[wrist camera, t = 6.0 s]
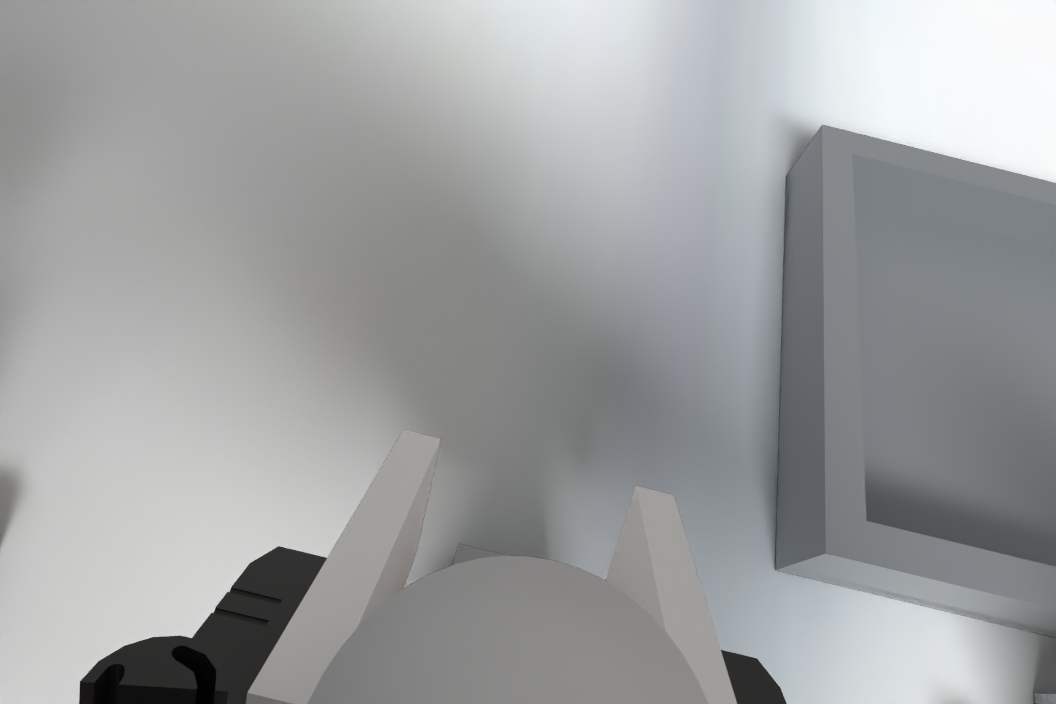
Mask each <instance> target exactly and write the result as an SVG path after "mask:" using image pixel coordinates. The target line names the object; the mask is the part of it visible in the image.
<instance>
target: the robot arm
mask: <svg viewBox="0 0 1056 704" xmlns="http://www.w3.org/2000/svg"><path fill="white" fill-rule="evenodd" d="M440 441H441V438H436V437H432V436H428V435H424V434H420V433H416V432H412V431H408V430H403V432H402V433H401V435H400V437H399V438H398V440H397V442H396V443H395V445H394V447H393V448H392V450H391V452H390V453H389V455H388V457H387V458H386V460H385V462H384V464H383V465H382V467H381V469H380V470H379V472H378V474H377V475H376V477H375V479H374V480H373V482H372V484H371V485H370V487H369V489H368V490H367V492H366V494H365V496H364V497H363V499H362V501H361V502H360V504H359V506H358V507H357V509H356V511H355V512H354V514H353V516H352V517H351V519H350V521H349V522H348V524H347V526H346V528H345V529H344V531H343V533H342V534H341V536H340V538H339V539H338V541H337V543H336V544H335V546H334V548H333V549H332V551H331V553H330V554H329V556H328V558H325V557H321V556H317V555H312V554H308V553H304V552H300V551H296V550H292V549H287V548H283V547H277V548H275V549H273V550H272V551H270V552H268V553H267V554H265V555H263V556H262V557H260V558H258V559H257V560H255V561H253V562H252V563H250V564H249V565H248V567H247V568H246V569H245V570H244V572H243V573H242V574H241V576H240V577H239V578H238V579H237V581H236V582H235V583H234V585H233V586H232V587H231V590H230V592H227V594H226V595H225V596H224V598H223V599H222V600H221V601H220V603H219V604H218V605H217V607H216V608H215V611H214V613H211V614H210V616H209V617H208V618H207V619H206V621H205V622H204V623H203V625H202V626H201V627H200V628H199V630H198V631H197V632H196V634H195V635H194V636H193V638H188V637H183V636H169V637H152V638H149V639H146V640H143V641H139V642H136V643H133V644H129V645H126V646H124V647H122V648H120V649H119V650H117V651H115V652H114V653H112V654H110V655H109V656H107V657H105V658H104V659H102V660H100V661H99V662H98V663H97V664H96V665H95V666H94V667H93V668H92V669H91V670H90V671H89V673H88V674H87V675H86V676H85V677H84V678H83V679H82V680H81V681H80V700H79V704H307V703H308V701H309V699H310V698H311V696H312V694H313V692H314V690H315V688H316V686H317V684H318V682H319V680H320V678H321V676H322V674H323V673H324V671H325V670H326V668H327V667H328V665H329V664H330V662H331V661H332V659H333V658H334V657H335V655H336V654H337V652H338V651H339V649H340V648H341V646H342V645H343V644H344V643H345V642H346V641H347V639H348V638H349V637H350V636H351V635H352V634H353V632H354V631H355V630H356V629H357V628H358V626H359V625H360V624H361V623H362V622H363V621H364V620H365V619H367V618H368V617H369V616H370V615H371V614H372V613H373V612H374V611H375V610H376V609H377V608H378V607H380V606H381V605H382V604H383V603H384V602H386V601H387V600H388V599H390V598H391V597H393V596H394V595H395V594H397V593H398V592H400V591H401V590H402V589H403V587H404V585H405V582H406V579H407V577H408V574H409V572H410V569H411V566H412V564H413V561H414V558H415V556H416V553H417V548H418V543H419V539H420V534H421V529H422V525H423V520H424V515H425V511H426V506H427V501H428V497H429V492H430V487H431V483H432V478H433V474H434V469H435V464H436V460H437V455H438V450H439V446H440ZM606 581H607V582H608V583H610V584H611V585H613V586H614V587H616V588H618V589H619V590H621V591H622V592H624V593H625V594H627V595H628V596H629V597H630V598H632V599H633V600H634V601H635V602H636V603H638V604H639V605H640V606H641V607H642V608H644V609H645V610H646V611H647V612H648V613H649V614H650V615H651V616H652V617H653V618H654V619H655V620H656V621H657V623H658V624H659V625H660V626H661V627H662V628H663V629H664V630H665V631H666V632H667V634H668V635H669V636H670V638H671V639H672V640H673V642H674V643H675V644H676V646H677V647H678V648H679V650H680V651H681V652H682V654H683V655H684V657H685V659H686V660H687V662H688V664H689V666H690V667H691V669H692V671H693V672H694V674H695V676H696V677H697V679H698V681H699V684H700V686H701V688H702V690H703V692H704V695H705V697H706V699H707V701H708V704H786V701H785V699H784V696H783V694H782V691H781V689H780V687H779V686H778V684H777V683H776V682H775V681H774V679H773V678H772V677H771V676H770V674H769V673H768V672H767V671H766V669H765V668H764V667H763V666H762V664H761V663H760V662H759V661H758V659H756V658H752V657H748V656H744V655H740V654H736V653H731V652H727V651H723V650H721V649H720V646H719V643H718V640H717V636H716V633H715V630H714V626H713V623H712V620H711V617H710V613H709V610H708V607H707V604H706V600H705V597H704V594H703V591H702V587H701V584H700V581H699V578H698V574H697V571H696V568H695V564H694V561H693V558H692V555H691V551H690V548H689V545H688V542H687V538H686V535H685V532H684V529H683V525H682V522H681V519H680V516H679V512H678V509H677V506H676V502H675V499H674V496H673V495H672V494H667V493H663V492H659V491H655V490H651V489H647V488H643V487H639V486H636V488H635V491H634V494H633V497H632V500H631V504H630V507H629V510H628V513H627V516H626V519H625V522H624V525H623V528H622V531H621V534H620V538H619V541H618V544H617V547H616V550H615V553H614V556H613V559H612V562H611V565H610V568H609V572H608V575H607V578H606Z"/></svg>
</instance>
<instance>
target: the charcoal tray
mask: <svg viewBox="0 0 1056 704" xmlns="http://www.w3.org/2000/svg"><path fill="white" fill-rule="evenodd" d="M776 571H781V572H785V573H789V574H793V575H797V576H801V577H805V578H810V579H814V580H818V581H822V582H826V583H830V584H834V585H839V586H843V587H847V588H851V589H855V590H859V591H863V592H868V593H872V594H876V595H880V596H884V597H888V598H892V599H897V600H901V601H905V602H909V603H913V604H917V605H921V606H926V607H930V608H934V609H938V610H942V611H946V612H950V613H955V614H959V615H963V616H967V617H971V618H975V619H980V620H984V621H988V622H992V623H996V624H1000V625H1004V626H1009V627H1013V628H1017V629H1021V630H1025V631H1029V632H1033V633H1038V634H1042V635H1046V636H1050V637H1054V638H1056V183H1053V182H1049V181H1045V180H1041V179H1037V178H1033V177H1029V176H1025V175H1021V174H1017V173H1013V172H1009V171H1005V170H1001V169H997V168H993V167H989V166H985V165H981V164H977V163H973V162H969V161H965V160H961V159H957V158H953V157H949V156H946V155H942V154H938V153H934V152H930V151H926V150H922V149H918V148H914V147H910V146H906V145H902V144H898V143H894V142H890V141H886V140H882V139H878V138H874V137H870V136H866V135H862V134H858V133H854V132H850V131H846V130H842V129H838V128H834V127H830V126H826V125H822V126H821V127H820V129H819V130H818V131H817V133H816V134H815V136H814V137H813V139H812V140H811V142H810V143H809V144H808V146H807V147H806V149H805V150H804V152H803V153H802V155H801V156H800V158H799V159H798V160H797V162H796V163H795V165H794V166H793V168H792V169H791V171H790V172H789V174H788V175H787V176H786V202H785V239H784V276H783V312H782V349H781V386H780V423H779V460H778V497H777V533H776Z"/></svg>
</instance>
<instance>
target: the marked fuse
mask: <svg viewBox="0 0 1056 704" xmlns="http://www.w3.org/2000/svg"><path fill="white" fill-rule="evenodd" d="M307 704H708V701H707V699H706V697H705V695H704V692H703V690H702V688H701V686H700V684H699V681H698V679H697V677H696V676H695V674H694V672H693V671H692V669H691V667H690V666H689V664H688V662H687V660H686V659H685V657H684V655H683V654H682V652H681V651H680V650H679V648H678V647H677V646H676V644H675V643H674V642H673V640H672V639H671V638H670V636H669V635H668V634H667V632H666V631H665V630H664V629H663V628H662V627H661V626H660V625H659V624H658V623H657V621H656V620H655V619H654V618H653V617H652V616H651V615H650V614H649V613H648V612H647V611H646V610H645V609H644V608H642V607H641V606H640V605H639V604H638V603H636V602H635V601H634V600H633V599H632V598H630V597H629V596H628V595H627V594H625V593H624V592H622V591H621V590H619V589H618V588H616V587H614V586H613V585H611V584H610V583H608V582H607V581H605V580H603V579H602V578H599V577H597V576H595V575H593V574H591V573H589V572H586V571H584V570H582V569H580V568H577V567H574V566H571V565H567V564H564V563H561V562H558V561H554V560H548V559H542V558H536V557H530V556H497V557H487V558H479V559H475V560H471V561H466V562H462V563H458V564H454V565H452V566H449V567H446V568H444V569H441V570H439V571H436V572H434V573H431V574H429V575H427V576H425V577H423V578H421V579H420V580H418V581H416V582H414V583H412V584H410V585H409V586H407V587H405V588H404V589H402V590H401V591H400V592H398V593H397V594H395V595H394V596H393V597H391V598H390V599H388V600H387V601H386V602H384V603H383V604H382V605H381V606H380V607H378V608H377V609H376V610H375V611H374V612H373V613H372V614H371V615H370V616H369V617H368V618H367V619H365V620H364V621H363V622H362V623H361V624H360V625H359V626H358V628H357V629H356V630H355V631H354V632H353V634H352V635H351V636H350V637H349V638H348V639H347V641H346V642H345V643H344V644H343V645H342V646H341V648H340V649H339V651H338V652H337V654H336V655H335V657H334V658H333V659H332V661H331V662H330V664H329V665H328V667H327V668H326V670H325V671H324V673H323V674H322V676H321V678H320V680H319V682H318V684H317V686H316V688H315V690H314V692H313V694H312V696H311V698H310V699H309V701H308V703H307Z"/></svg>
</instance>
